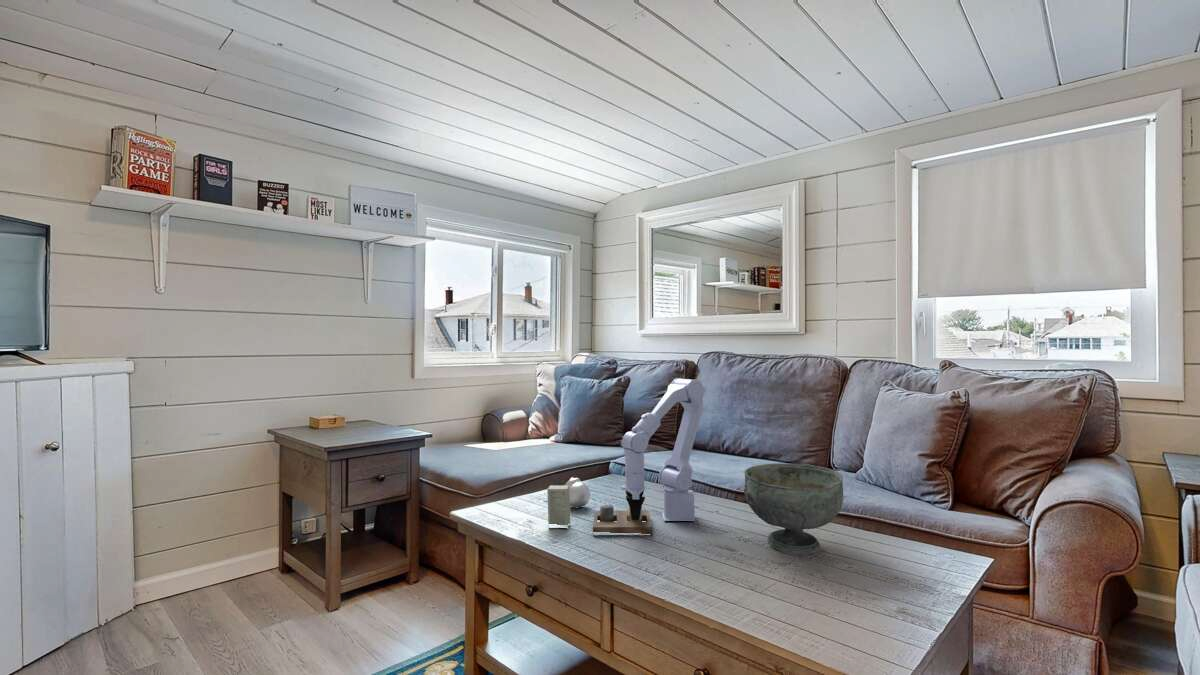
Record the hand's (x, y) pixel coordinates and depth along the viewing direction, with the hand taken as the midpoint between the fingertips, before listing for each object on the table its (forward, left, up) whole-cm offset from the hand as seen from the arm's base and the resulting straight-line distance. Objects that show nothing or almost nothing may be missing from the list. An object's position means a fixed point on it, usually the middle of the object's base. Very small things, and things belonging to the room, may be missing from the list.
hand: (635, 517), depth 172 cm
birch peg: (0, 0, -3) cm, 3 cm away
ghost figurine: (+19, -20, -3) cm, 28 cm away
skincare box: (+23, 0, -3) cm, 23 cm away
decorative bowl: (-42, +17, -3) cm, 45 cm away
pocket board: (+4, 0, -3) cm, 5 cm away
